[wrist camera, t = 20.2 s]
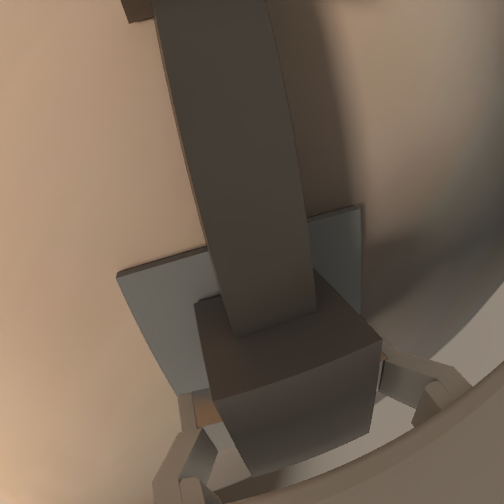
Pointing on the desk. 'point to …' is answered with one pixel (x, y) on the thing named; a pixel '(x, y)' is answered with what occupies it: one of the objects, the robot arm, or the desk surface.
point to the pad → (205, 287)
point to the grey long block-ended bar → (259, 243)
